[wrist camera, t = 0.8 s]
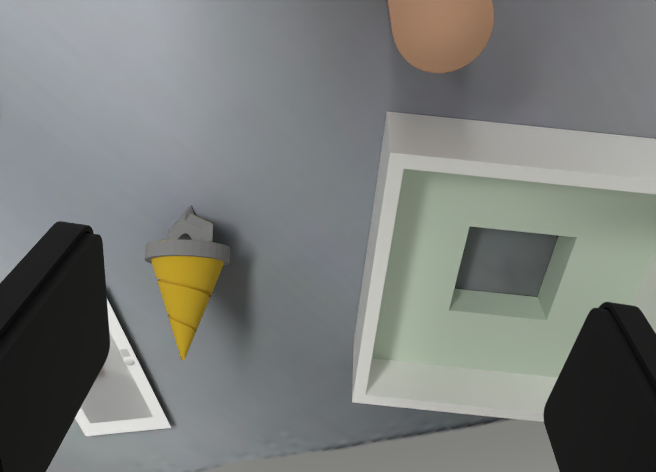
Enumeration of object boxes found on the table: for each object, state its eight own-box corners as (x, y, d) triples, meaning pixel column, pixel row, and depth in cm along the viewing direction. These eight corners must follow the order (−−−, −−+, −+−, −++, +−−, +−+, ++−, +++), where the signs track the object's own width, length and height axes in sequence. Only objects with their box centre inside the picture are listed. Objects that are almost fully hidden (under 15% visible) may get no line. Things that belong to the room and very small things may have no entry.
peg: (391, -61, 30) (400, -38, 22) (469, -53, 30) (505, -27, 22) (381, 21, 32) (385, 68, 24) (454, 28, 32) (481, 78, 24)
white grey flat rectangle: (91, 425, 52) (80, 446, 50) (9, 290, 44) (-6, 308, 42) (174, 417, 50) (167, 438, 49) (106, 276, 43) (94, 294, 41)
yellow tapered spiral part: (248, 206, 39) (243, 360, 37) (197, 218, 42) (190, 359, 40) (183, 189, 35) (173, 360, 33) (132, 203, 38) (120, 359, 36)
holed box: (386, 111, 35) (390, 152, 30) (691, 142, 35) (747, 188, 29) (353, 341, 44) (352, 402, 39) (592, 365, 44) (622, 430, 39)
